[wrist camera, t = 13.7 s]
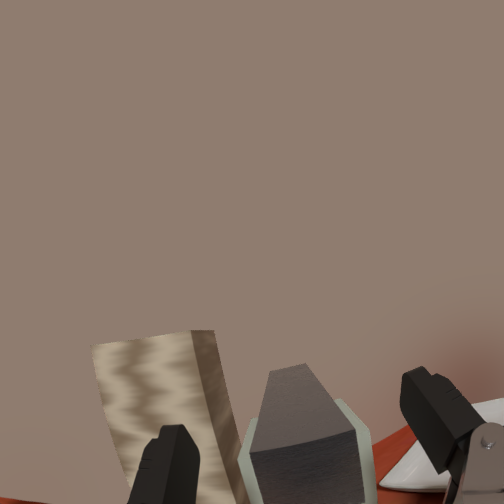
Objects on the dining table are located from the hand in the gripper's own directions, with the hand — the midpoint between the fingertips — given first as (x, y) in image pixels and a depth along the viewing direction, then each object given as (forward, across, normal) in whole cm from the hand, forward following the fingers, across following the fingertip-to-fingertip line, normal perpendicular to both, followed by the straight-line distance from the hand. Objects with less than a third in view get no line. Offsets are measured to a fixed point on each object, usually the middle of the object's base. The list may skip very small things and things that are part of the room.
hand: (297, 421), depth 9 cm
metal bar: (+7, 0, +10) cm, 12 cm away
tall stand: (+5, +14, +34) cm, 37 cm away
